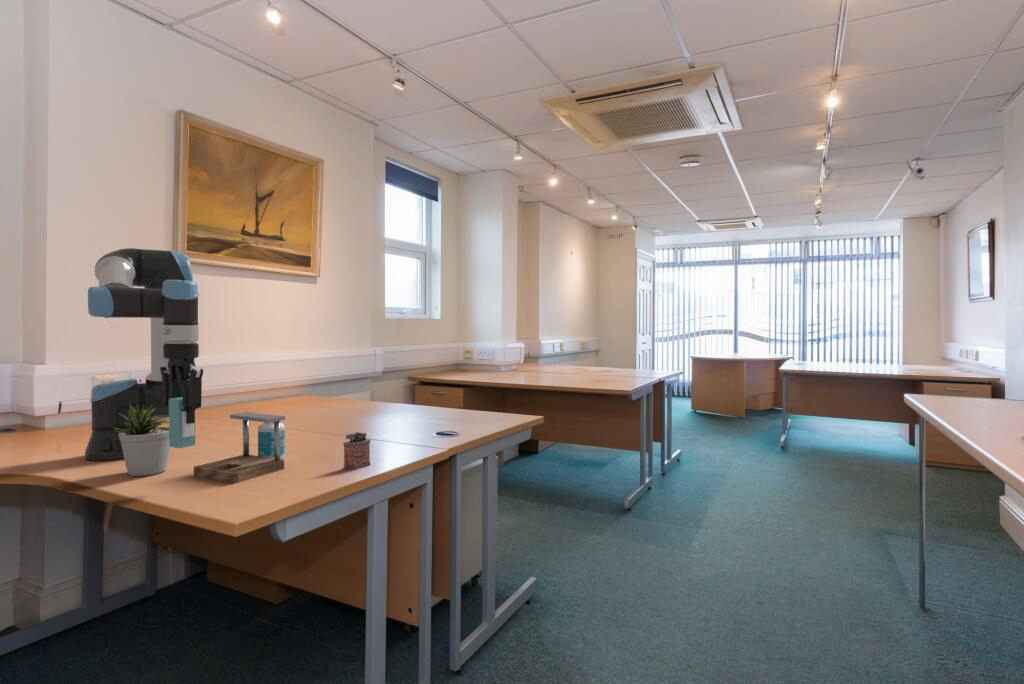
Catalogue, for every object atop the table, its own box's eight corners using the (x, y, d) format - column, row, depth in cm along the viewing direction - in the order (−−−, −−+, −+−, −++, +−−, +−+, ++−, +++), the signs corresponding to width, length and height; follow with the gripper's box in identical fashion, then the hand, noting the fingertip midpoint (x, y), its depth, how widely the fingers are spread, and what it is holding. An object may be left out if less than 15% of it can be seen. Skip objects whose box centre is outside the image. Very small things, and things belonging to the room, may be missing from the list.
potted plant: (113, 471, 149) (112, 400, 148) (171, 464, 157) (170, 396, 157) (114, 482, 139) (112, 405, 138) (176, 473, 147) (175, 401, 147)
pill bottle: (274, 464, 157) (274, 418, 157) (252, 463, 159) (251, 417, 159) (290, 458, 165) (289, 414, 164) (268, 457, 166) (268, 413, 166)
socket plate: (193, 475, 145) (193, 466, 145) (245, 462, 160) (245, 454, 159) (233, 483, 138) (233, 474, 138) (284, 468, 153) (284, 460, 153)
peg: (169, 446, 134) (168, 398, 133) (185, 443, 137) (184, 396, 137) (179, 448, 132) (178, 400, 131) (195, 445, 135) (194, 398, 135)
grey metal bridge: (230, 466, 155) (229, 414, 155) (247, 462, 160) (246, 412, 160) (269, 473, 148) (268, 419, 148) (285, 468, 153) (285, 416, 153)
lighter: (366, 463, 159) (366, 429, 159) (372, 465, 157) (372, 431, 156) (341, 468, 154) (341, 433, 153) (347, 470, 151) (346, 435, 151)
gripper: (144, 341, 134) (146, 434, 135) (188, 344, 126) (189, 442, 127) (174, 340, 140) (175, 428, 141) (217, 342, 133) (218, 436, 134)
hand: (182, 435), depth 134 cm, fingers closed on peg, 4 cm apart
